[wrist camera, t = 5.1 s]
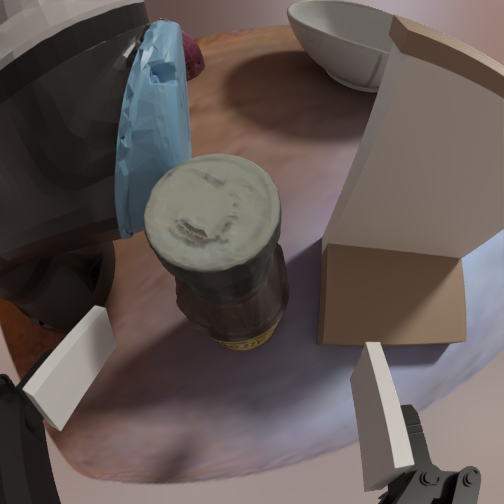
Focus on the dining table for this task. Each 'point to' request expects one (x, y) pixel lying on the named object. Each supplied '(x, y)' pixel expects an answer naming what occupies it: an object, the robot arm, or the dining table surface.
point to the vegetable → (191, 55)
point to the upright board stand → (416, 196)
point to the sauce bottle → (221, 246)
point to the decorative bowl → (344, 40)
